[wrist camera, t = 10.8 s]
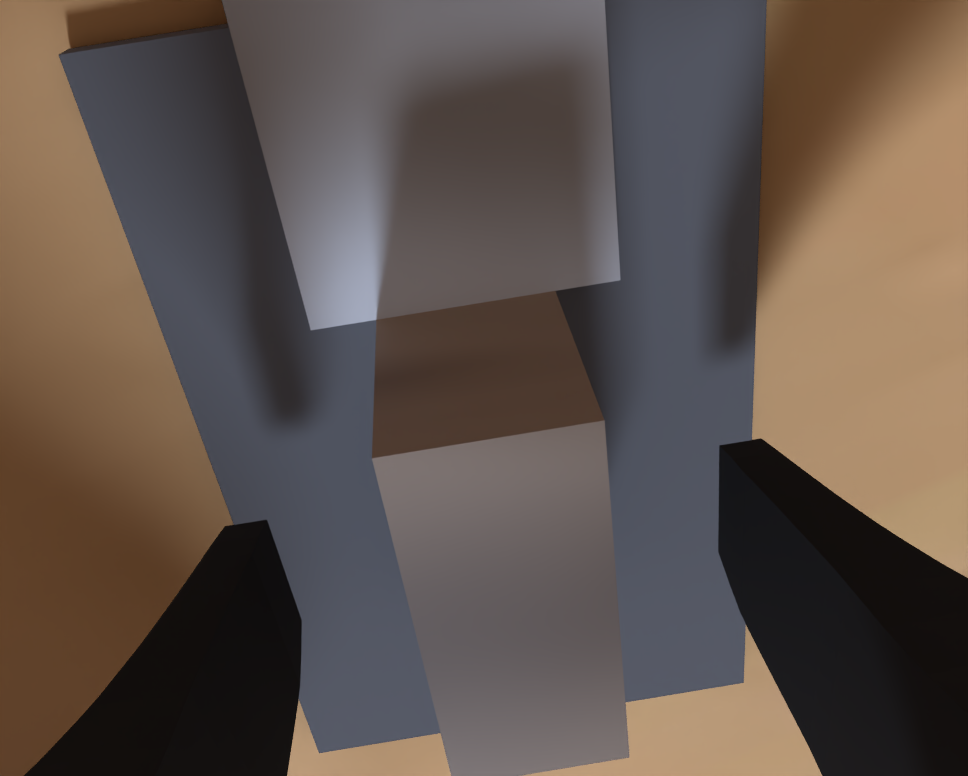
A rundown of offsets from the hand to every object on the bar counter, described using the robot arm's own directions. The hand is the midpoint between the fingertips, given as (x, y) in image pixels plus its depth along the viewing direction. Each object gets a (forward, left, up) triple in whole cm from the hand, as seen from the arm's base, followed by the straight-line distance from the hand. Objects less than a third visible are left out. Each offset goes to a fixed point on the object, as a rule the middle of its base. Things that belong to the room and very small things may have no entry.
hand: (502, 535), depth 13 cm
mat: (0, 0, -3) cm, 3 cm away
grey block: (+3, 0, -2) cm, 3 cm away
